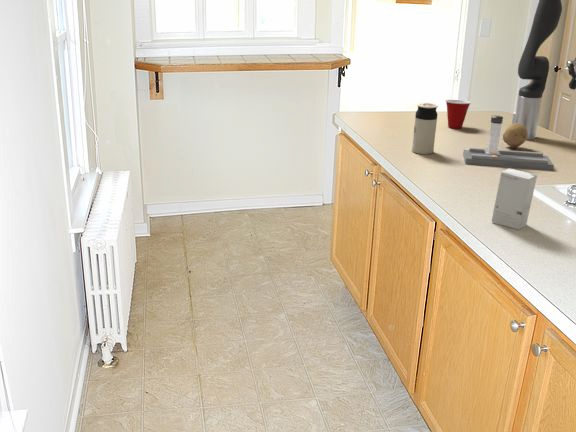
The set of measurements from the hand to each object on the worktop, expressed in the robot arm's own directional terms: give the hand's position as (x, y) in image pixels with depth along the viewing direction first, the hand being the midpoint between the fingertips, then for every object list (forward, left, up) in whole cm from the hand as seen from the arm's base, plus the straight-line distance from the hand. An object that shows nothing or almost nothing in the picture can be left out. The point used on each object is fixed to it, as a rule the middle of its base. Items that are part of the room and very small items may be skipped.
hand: (571, 88), depth 241 cm
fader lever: (-7, -29, -24) cm, 38 cm away
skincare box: (+41, -71, -26) cm, 86 cm away
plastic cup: (-52, -4, -26) cm, 58 cm away
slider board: (-3, -25, -26) cm, 36 cm away
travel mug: (-27, -44, -26) cm, 58 cm away
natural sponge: (-16, -7, -26) cm, 31 cm away
